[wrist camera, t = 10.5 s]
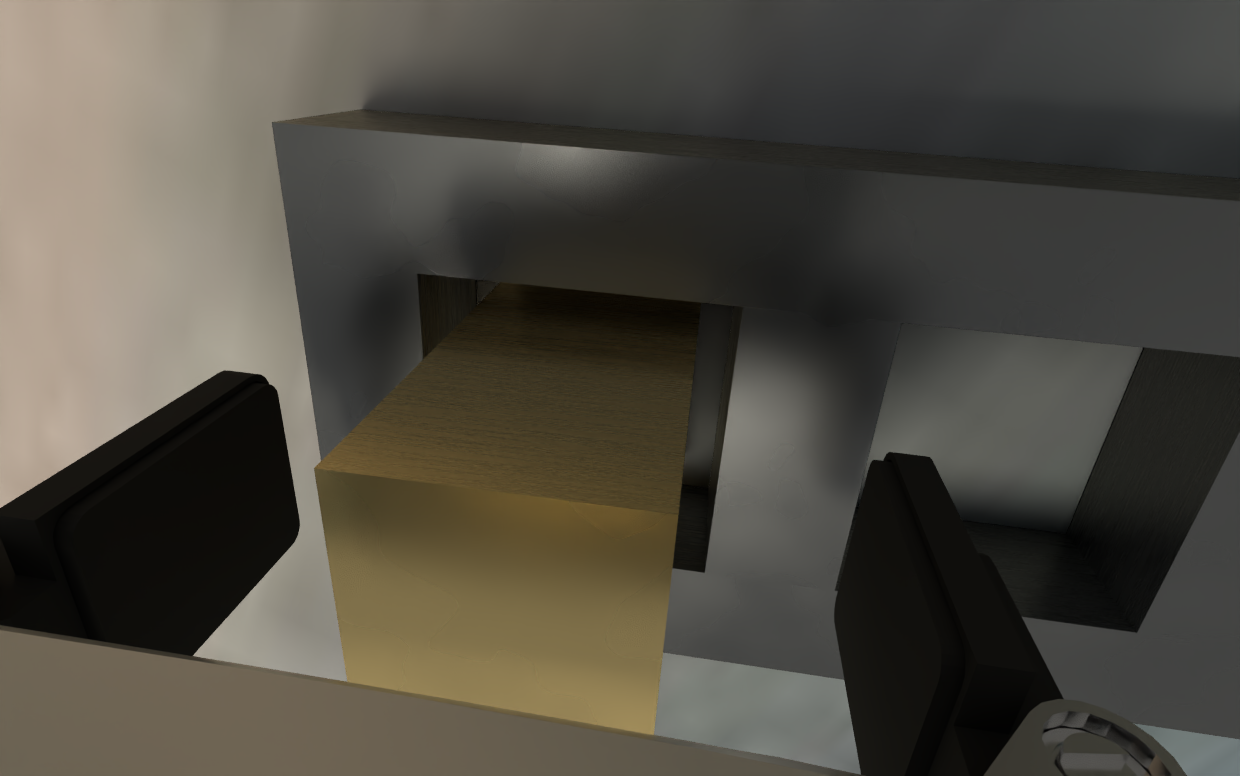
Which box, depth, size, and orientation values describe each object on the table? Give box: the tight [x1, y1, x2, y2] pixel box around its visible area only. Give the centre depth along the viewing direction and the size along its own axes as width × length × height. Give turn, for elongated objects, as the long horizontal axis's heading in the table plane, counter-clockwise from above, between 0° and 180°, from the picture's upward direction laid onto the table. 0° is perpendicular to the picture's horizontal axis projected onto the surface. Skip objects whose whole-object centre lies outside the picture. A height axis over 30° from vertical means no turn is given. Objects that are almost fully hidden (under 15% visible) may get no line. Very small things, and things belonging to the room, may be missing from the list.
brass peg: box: [314, 282, 701, 735], centre depth 12 cm, size 4×4×8 cm
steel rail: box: [272, 110, 1240, 739], centre depth 13 cm, size 26×10×3 cm, turn 86°
